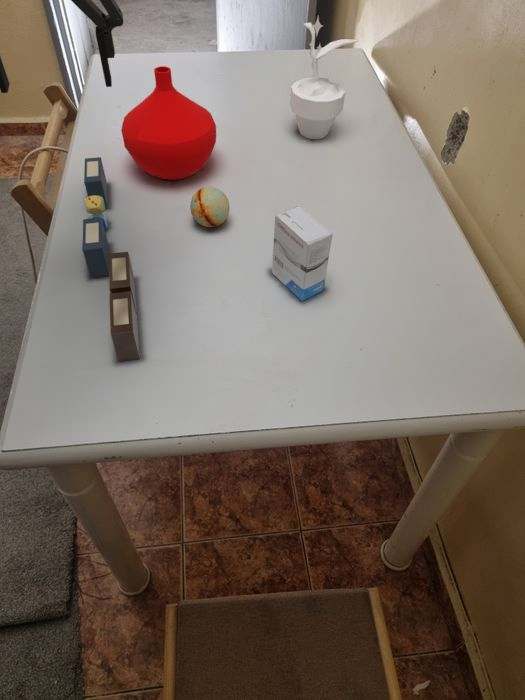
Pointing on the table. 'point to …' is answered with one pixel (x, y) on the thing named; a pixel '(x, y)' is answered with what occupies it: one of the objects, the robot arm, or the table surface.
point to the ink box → (300, 252)
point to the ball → (209, 206)
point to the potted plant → (317, 93)
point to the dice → (96, 208)
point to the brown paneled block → (123, 307)
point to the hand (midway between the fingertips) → (58, 85)
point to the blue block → (95, 221)
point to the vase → (169, 131)
